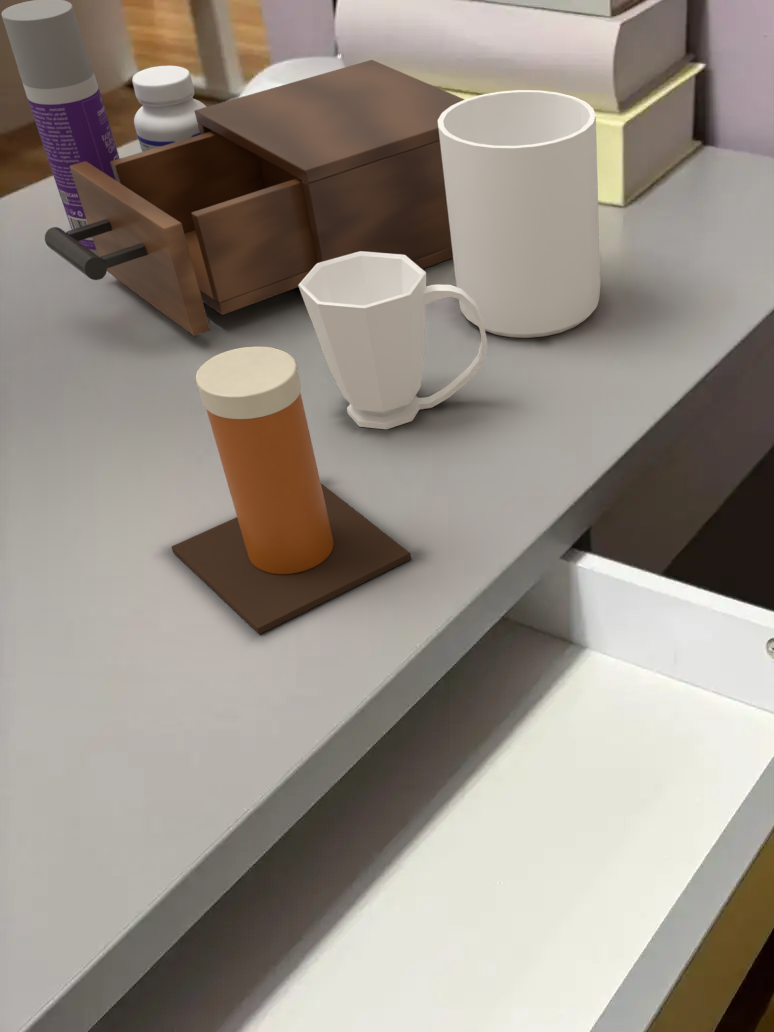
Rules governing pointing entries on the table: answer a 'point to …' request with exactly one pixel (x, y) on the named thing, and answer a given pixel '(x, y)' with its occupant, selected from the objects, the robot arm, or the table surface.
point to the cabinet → (354, 156)
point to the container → (61, 95)
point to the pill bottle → (165, 106)
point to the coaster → (288, 595)
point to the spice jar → (267, 457)
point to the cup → (379, 333)
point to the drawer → (192, 228)
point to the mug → (523, 209)
